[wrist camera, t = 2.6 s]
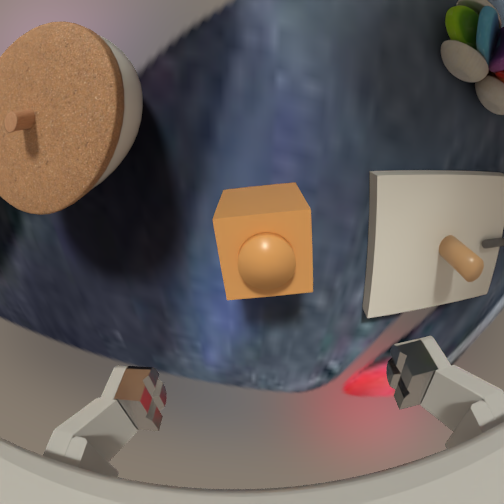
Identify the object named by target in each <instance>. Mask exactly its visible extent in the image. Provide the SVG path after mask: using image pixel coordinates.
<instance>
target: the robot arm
mask: <svg viewBox="0 0 504 504" xmlns="http://www.w3.org/2000/svg"><path fill="white" fill-rule="evenodd" d="M390 353H391V356H392V358H391V359H390V360H389V361H388V364H387V379H388V382H389V385H390V386H391V387H392V388H394V389H395V390H396V391H395V394H394V397H395V400H396V402H397V405H398V407H399V409H404V408H408V407H412V406H415V405H419V404H421V406H422V407H423V408H424V409H426V410H427V411H428V412H429V413H431V414H432V415H433V416H435V417H436V418H437V419H438V420H440V421H441V422H442V423H443V424H445V425H446V426H447V427H448V428H450V429H451V430H452V431H453V433H452V435H451V436H450V438H449V439H448V440H447V442H446V444H445V446H446V448H447V449H446V450H443V451H441V452H438V453H435V454H433V455H430V456H427V457H424V458H422V459H419V460H416V461H413V462H410V463H406V464H403V465H400V466H397V467H393V468H390V469H386V470H382V471H378V472H374V473H370V474H366V475H362V476H357V477H352V478H348V479H343V480H337V481H332V482H325V483H318V484H311V485H303V486H295V487H284V488H270V489H202V488H188V487H177V486H168V485H159V484H153V483H146V482H140V481H134V480H129V479H124V478H119V477H118V471H117V470H116V469H115V468H114V467H113V466H112V465H111V464H110V463H109V461H110V460H111V459H112V458H113V457H114V456H115V455H116V454H117V453H118V451H119V450H120V449H121V448H122V447H123V446H124V445H125V444H126V443H127V442H128V441H129V440H130V439H131V438H132V437H133V435H134V434H135V433H136V432H137V431H138V430H150V431H159V429H160V425H161V421H162V415H161V413H160V411H161V410H162V409H163V408H164V407H165V404H166V389H165V386H164V384H163V382H161V381H160V380H159V379H158V376H159V373H158V371H157V369H156V368H154V367H137V366H118V365H117V366H116V367H115V368H114V369H113V371H112V373H111V375H110V378H109V380H108V382H107V384H106V387H105V389H104V391H103V393H102V396H101V398H96V399H95V400H93V401H92V402H91V403H90V404H88V405H87V406H86V407H84V408H83V409H81V410H80V411H79V412H77V413H76V414H75V415H74V416H72V417H71V418H69V419H68V420H67V421H65V422H64V423H63V424H61V425H60V426H58V427H57V428H56V429H54V432H53V434H52V436H51V438H50V440H49V443H48V445H47V447H46V450H45V452H44V454H43V455H40V454H37V453H35V452H32V451H30V450H27V449H25V448H22V447H20V446H17V445H16V444H13V443H11V442H9V441H7V440H5V439H2V438H0V504H504V393H503V391H502V390H501V389H500V388H498V387H496V386H494V385H492V384H490V383H488V382H486V381H484V380H482V379H481V378H479V377H477V376H475V375H473V374H471V373H469V372H467V371H465V370H464V369H462V368H460V367H458V366H456V365H452V366H451V364H450V363H449V361H448V360H447V358H446V356H445V355H444V353H443V352H442V350H441V349H440V347H439V346H438V344H437V342H436V341H435V339H434V338H433V337H432V336H427V337H423V338H419V339H415V340H411V341H407V342H402V343H398V344H393V346H392V347H391V351H390Z"/></svg>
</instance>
